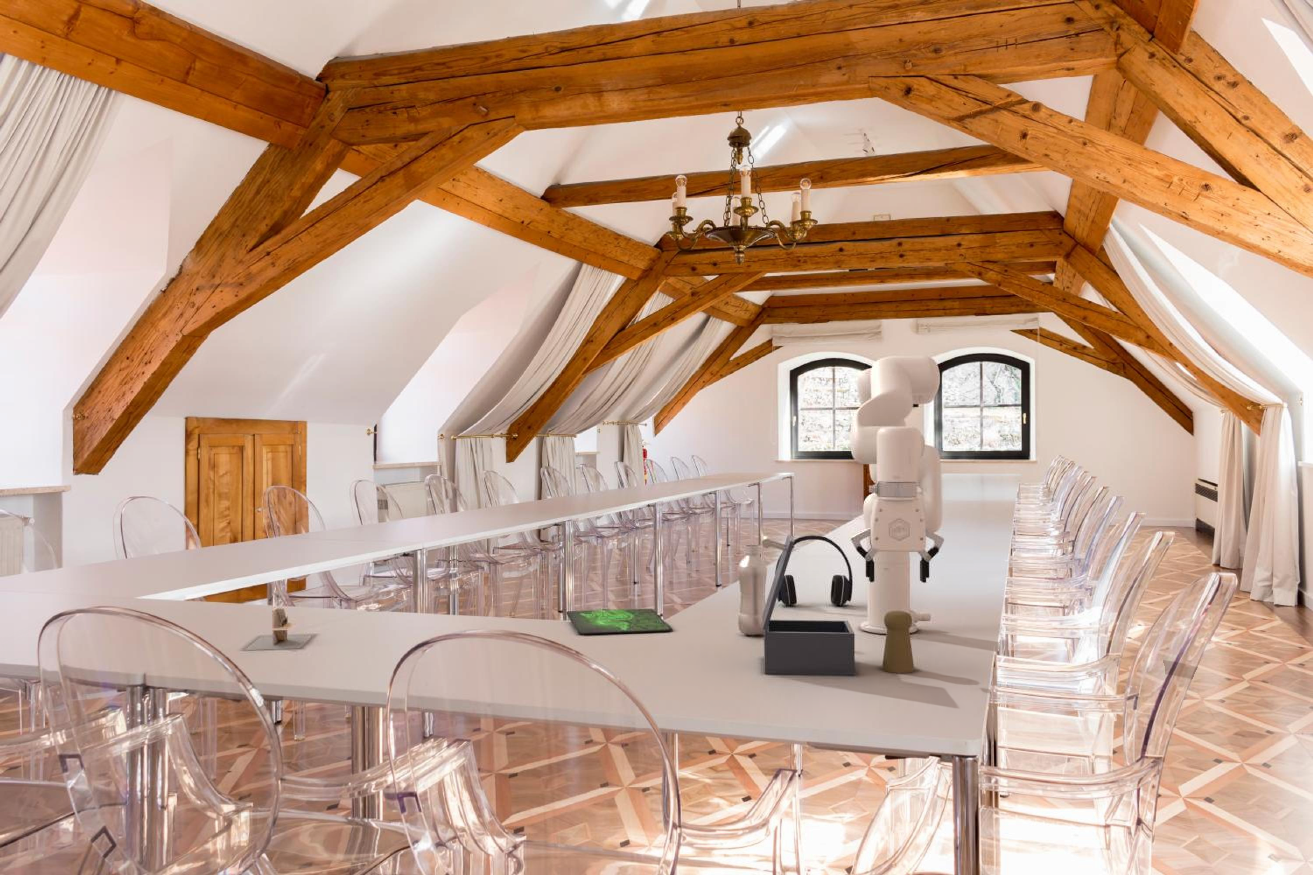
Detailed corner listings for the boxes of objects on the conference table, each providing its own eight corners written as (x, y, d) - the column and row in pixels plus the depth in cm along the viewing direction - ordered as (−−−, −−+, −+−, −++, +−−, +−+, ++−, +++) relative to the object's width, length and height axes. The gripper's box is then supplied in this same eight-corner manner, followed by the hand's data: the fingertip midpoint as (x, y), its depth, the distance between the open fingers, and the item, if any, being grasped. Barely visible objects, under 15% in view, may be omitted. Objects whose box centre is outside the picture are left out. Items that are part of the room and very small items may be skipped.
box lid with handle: (791, 535, 208) (764, 526, 209) (794, 542, 195) (765, 532, 195) (765, 617, 209) (738, 609, 209) (766, 630, 195) (738, 621, 196)
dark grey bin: (848, 659, 207) (847, 620, 207) (854, 675, 194) (854, 633, 194) (764, 658, 209) (763, 619, 209) (764, 673, 195) (764, 632, 195)
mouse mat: (674, 631, 237) (674, 626, 237) (577, 635, 233) (577, 630, 233) (651, 611, 264) (651, 607, 264) (564, 614, 260) (564, 610, 260)
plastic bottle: (766, 638, 230) (766, 547, 230) (736, 637, 231) (735, 546, 231) (769, 632, 236) (769, 544, 236) (739, 631, 237) (739, 543, 237)
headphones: (776, 607, 270) (776, 536, 270) (773, 603, 277) (773, 534, 277) (854, 607, 270) (853, 536, 270) (849, 603, 277) (849, 534, 277)
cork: (877, 665, 202) (877, 609, 202) (908, 665, 202) (908, 608, 202) (887, 673, 196) (887, 614, 196) (918, 672, 196) (918, 613, 196)
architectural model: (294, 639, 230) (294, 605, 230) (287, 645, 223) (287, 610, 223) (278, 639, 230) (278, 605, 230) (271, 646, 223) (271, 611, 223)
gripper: (852, 492, 196) (853, 583, 196) (947, 492, 194) (947, 584, 194) (849, 490, 203) (849, 578, 203) (939, 490, 202) (940, 579, 202)
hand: (897, 581), depth 199 cm, fingers open, 9 cm apart
